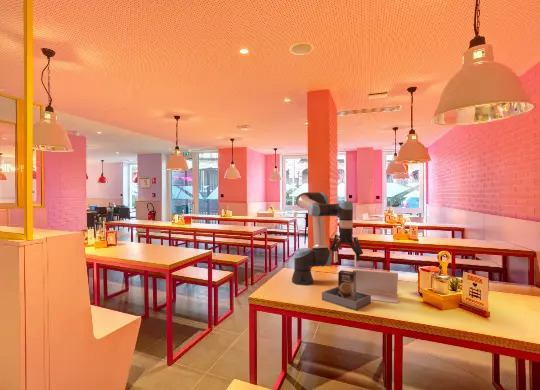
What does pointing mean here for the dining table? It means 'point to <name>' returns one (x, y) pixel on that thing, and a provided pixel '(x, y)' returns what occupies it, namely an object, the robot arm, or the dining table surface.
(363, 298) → the tray
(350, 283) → the coffee box
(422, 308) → the dining table surface
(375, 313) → the dining table surface
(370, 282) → the tablet stand
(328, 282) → the dining table surface
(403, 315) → the dining table surface
